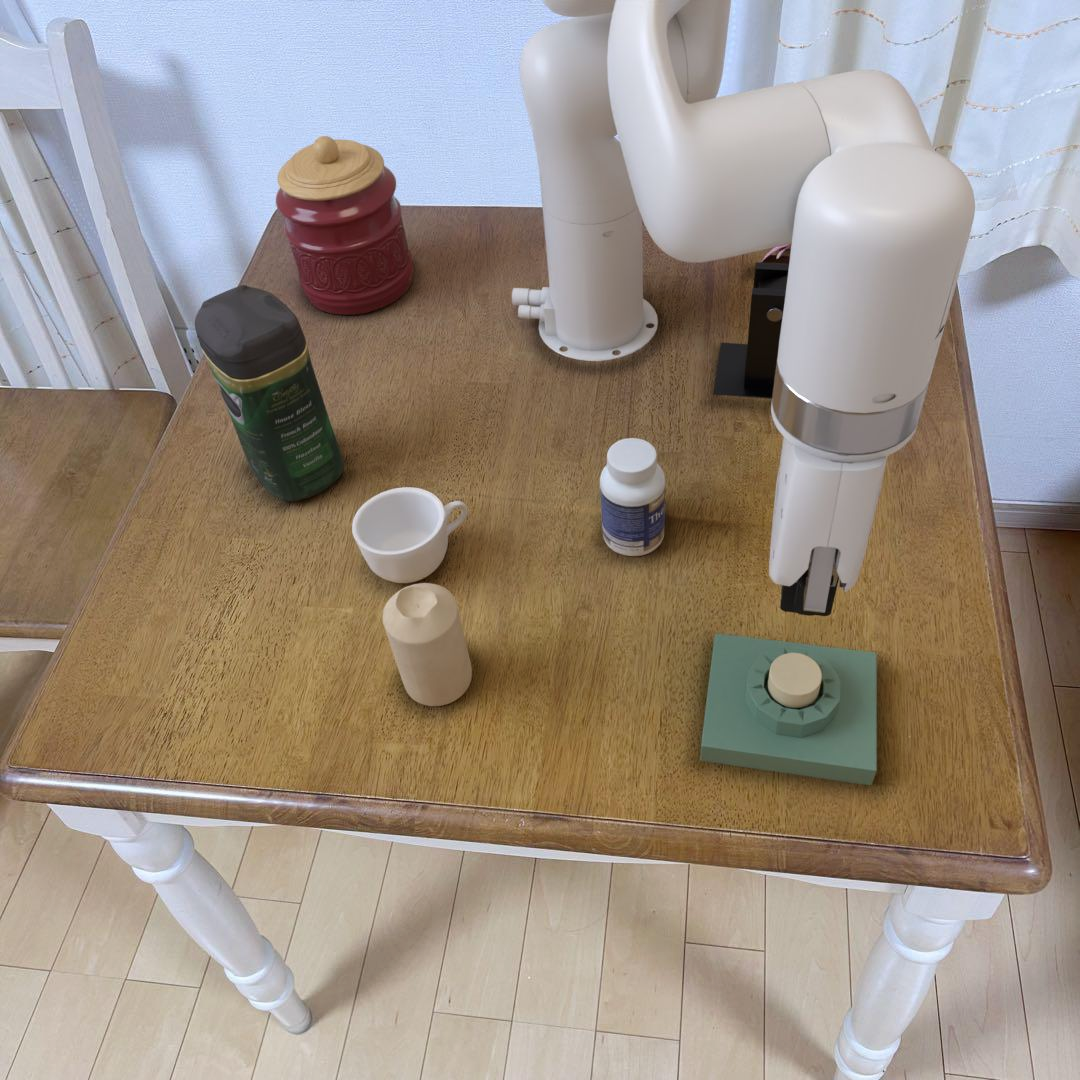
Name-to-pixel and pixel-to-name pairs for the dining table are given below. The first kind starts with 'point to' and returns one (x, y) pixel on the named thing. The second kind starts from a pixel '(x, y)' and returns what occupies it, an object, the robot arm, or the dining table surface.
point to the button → (794, 680)
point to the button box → (791, 712)
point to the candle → (428, 643)
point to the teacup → (404, 533)
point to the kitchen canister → (344, 226)
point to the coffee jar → (270, 391)
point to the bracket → (755, 342)
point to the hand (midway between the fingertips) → (805, 603)
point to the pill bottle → (632, 498)
